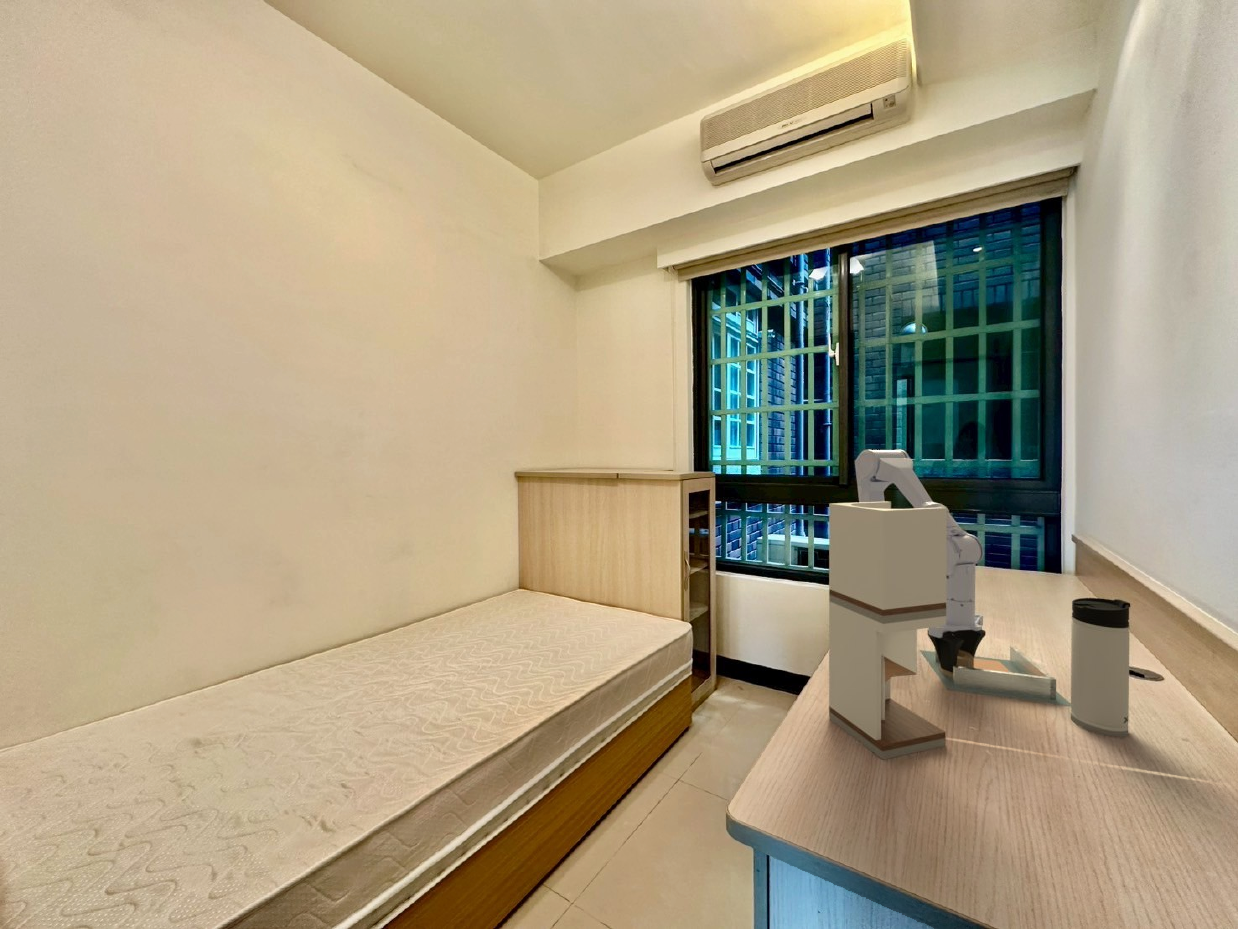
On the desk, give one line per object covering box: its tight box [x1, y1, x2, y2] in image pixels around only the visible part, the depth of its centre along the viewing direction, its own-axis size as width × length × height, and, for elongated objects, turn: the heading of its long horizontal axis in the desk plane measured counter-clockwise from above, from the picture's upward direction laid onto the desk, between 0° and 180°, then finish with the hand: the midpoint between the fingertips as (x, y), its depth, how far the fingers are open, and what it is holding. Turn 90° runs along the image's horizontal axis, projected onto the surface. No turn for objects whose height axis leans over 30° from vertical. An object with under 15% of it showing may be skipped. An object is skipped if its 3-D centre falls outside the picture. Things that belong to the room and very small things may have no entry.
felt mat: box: [919, 649, 1071, 707], centre depth 89 cm, size 18×18×1 cm
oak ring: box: [939, 650, 974, 678], centre depth 89 cm, size 5×5×4 cm
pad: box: [974, 658, 1011, 673], centre depth 92 cm, size 6×6×1 cm
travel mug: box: [1070, 597, 1131, 739], centre depth 72 cm, size 6×7×20 cm
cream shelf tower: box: [828, 500, 948, 760], centre depth 71 cm, size 11×11×35 cm
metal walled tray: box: [934, 645, 1057, 700], centre depth 89 cm, size 15×15×4 cm
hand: (956, 667), depth 89 cm, fingers closed on oak ring, 5 cm apart
